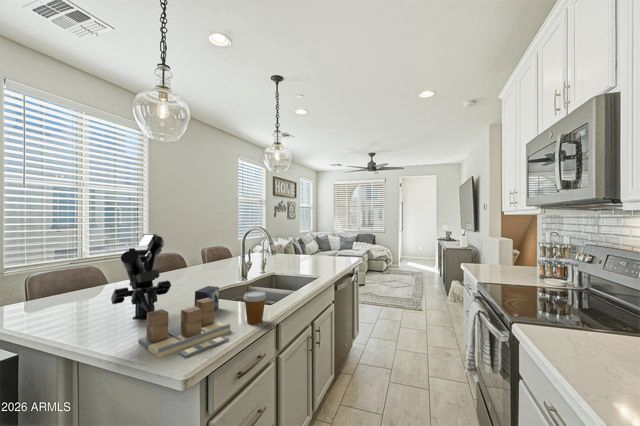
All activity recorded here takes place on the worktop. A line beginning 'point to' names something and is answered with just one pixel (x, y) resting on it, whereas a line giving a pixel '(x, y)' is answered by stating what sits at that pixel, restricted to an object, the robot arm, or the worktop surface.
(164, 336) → the slider
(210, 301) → the slider
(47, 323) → the worktop surface
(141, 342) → the board
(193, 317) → the middle slider
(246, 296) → the disposable coffee cup
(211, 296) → the small box
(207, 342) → the card
